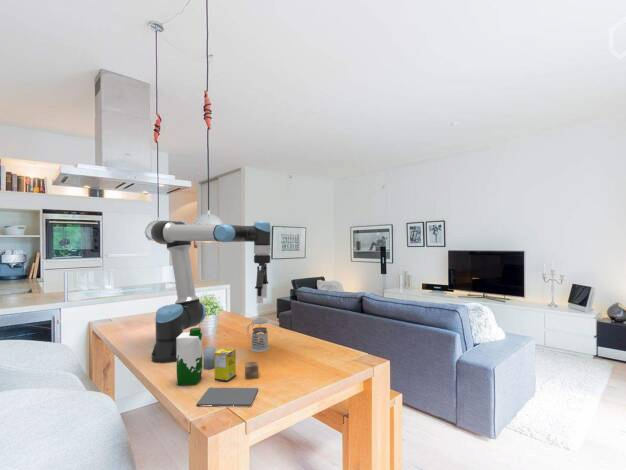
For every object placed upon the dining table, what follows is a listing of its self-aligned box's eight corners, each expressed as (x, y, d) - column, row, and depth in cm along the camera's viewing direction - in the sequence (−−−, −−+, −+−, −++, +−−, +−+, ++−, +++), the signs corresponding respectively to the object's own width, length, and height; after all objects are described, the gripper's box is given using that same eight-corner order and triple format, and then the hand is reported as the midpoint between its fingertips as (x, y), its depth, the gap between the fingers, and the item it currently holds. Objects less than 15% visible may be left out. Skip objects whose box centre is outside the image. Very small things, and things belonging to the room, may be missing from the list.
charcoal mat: (196, 406, 109) (196, 403, 109) (209, 389, 121) (209, 387, 121) (251, 406, 108) (251, 404, 108) (258, 390, 120) (258, 387, 120)
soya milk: (198, 385, 124) (198, 332, 124) (173, 386, 123) (173, 332, 124) (204, 376, 133) (204, 326, 133) (181, 377, 132) (181, 326, 132)
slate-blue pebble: (201, 369, 140) (201, 350, 140) (205, 365, 145) (205, 346, 145) (213, 369, 139) (213, 350, 140) (217, 365, 144) (217, 346, 145)
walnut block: (245, 379, 129) (245, 367, 130) (245, 374, 134) (245, 362, 134) (258, 378, 131) (258, 365, 131) (257, 373, 135) (257, 361, 136)
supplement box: (236, 376, 133) (235, 348, 133) (227, 382, 127) (227, 353, 127) (223, 374, 135) (223, 347, 135) (214, 380, 129) (214, 352, 129)
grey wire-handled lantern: (265, 352, 161) (265, 300, 161) (243, 350, 163) (243, 299, 163) (272, 346, 170) (272, 297, 171) (251, 344, 173) (250, 296, 173)
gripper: (267, 256, 142) (266, 305, 142) (273, 253, 167) (272, 295, 167) (249, 255, 142) (249, 305, 142) (258, 253, 167) (257, 295, 167)
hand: (261, 300), depth 154 cm, fingers open, 13 cm apart
